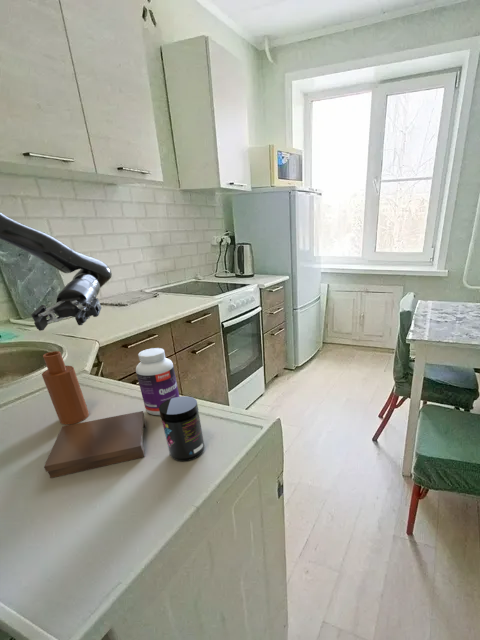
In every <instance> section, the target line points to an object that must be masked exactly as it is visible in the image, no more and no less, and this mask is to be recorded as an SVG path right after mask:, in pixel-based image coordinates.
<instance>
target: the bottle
mask: <svg viewBox="0 0 480 640" xmlns="http://www.w3.org/2000/svg"><path fill="white" fill-rule="evenodd" d="M42 357H43V361H44V363H45V365H46V366H45V367H46V368H47V369H45V370H44V371H43V372H42V373H41V377H42V379H43V382H44V384H45V387H46V390H47V393H48V395H49V398H50V400H51V403H52V405H53V409H54V410H55V413H56V415H57V418H58V421H59V423H60V424H61V425H63V426H67V425H72V424H77V423H82V422H84V420H86V419H88V417H89V415H90V413H89V409H88V407H87V403H86V401H85V397H84V395H83V391H82V388H81V385H80V382H79V380H78V377H77V373H76V369H75V368H74V367H73V366H72V365H66V364H65V361H64V358H63V355H62V352H61V351H59V350H55V351H49V352H46V353H44V354H43V355H42Z"/></svg>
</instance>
